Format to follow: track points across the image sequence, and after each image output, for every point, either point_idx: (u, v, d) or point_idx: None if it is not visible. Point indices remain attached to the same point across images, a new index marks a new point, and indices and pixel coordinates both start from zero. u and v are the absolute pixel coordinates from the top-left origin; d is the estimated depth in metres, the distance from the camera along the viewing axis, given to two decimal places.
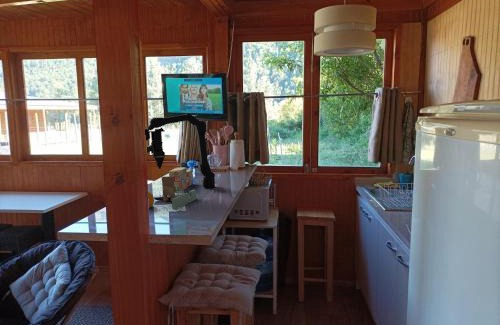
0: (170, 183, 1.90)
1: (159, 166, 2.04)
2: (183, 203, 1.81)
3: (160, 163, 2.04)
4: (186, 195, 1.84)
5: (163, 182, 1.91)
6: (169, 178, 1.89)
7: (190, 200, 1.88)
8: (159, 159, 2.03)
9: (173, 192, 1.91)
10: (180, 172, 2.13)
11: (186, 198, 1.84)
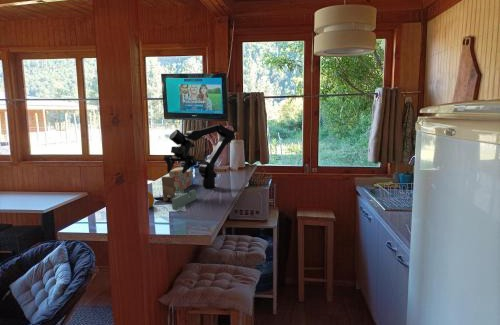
0: (170, 183, 1.90)
1: (184, 170, 1.97)
2: (183, 203, 1.81)
3: (186, 168, 1.98)
4: (186, 195, 1.84)
5: (163, 182, 1.91)
6: (169, 178, 1.89)
7: (190, 200, 1.88)
8: (187, 165, 1.99)
9: (173, 192, 1.91)
10: (180, 172, 2.13)
11: (186, 198, 1.84)
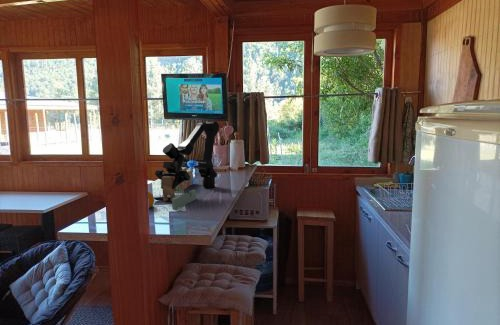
0: (170, 183, 1.90)
1: (173, 186, 1.90)
2: (183, 203, 1.81)
3: (176, 184, 1.91)
4: (186, 195, 1.84)
5: (163, 182, 1.91)
6: (169, 178, 1.89)
7: (190, 200, 1.88)
8: (177, 180, 1.92)
9: (173, 192, 1.91)
10: None
11: (186, 198, 1.84)
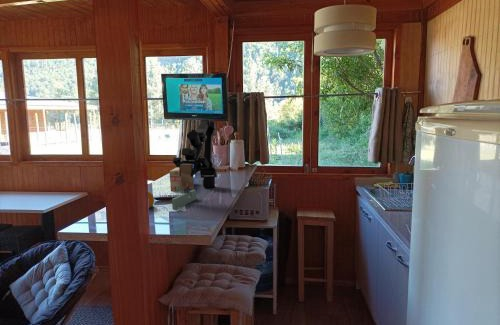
0: (189, 170, 1.84)
1: (192, 174, 1.84)
2: (183, 203, 1.81)
3: (195, 172, 1.85)
4: (186, 195, 1.84)
5: (181, 169, 1.85)
6: (188, 166, 1.84)
7: (190, 200, 1.88)
8: (196, 168, 1.86)
9: (192, 180, 1.85)
10: None
11: (186, 198, 1.84)
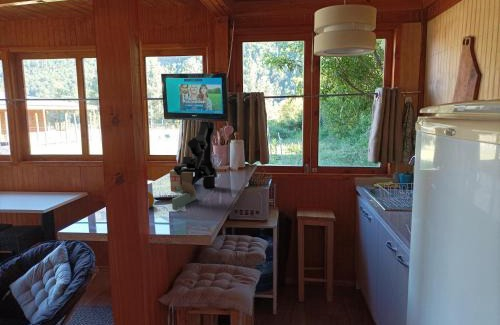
0: (190, 179, 1.84)
1: (193, 182, 1.85)
2: (183, 203, 1.81)
3: (196, 180, 1.86)
4: (186, 195, 1.84)
5: (182, 177, 1.86)
6: (189, 174, 1.84)
7: (190, 200, 1.88)
8: (197, 176, 1.87)
9: (193, 188, 1.86)
10: None
11: (186, 198, 1.84)
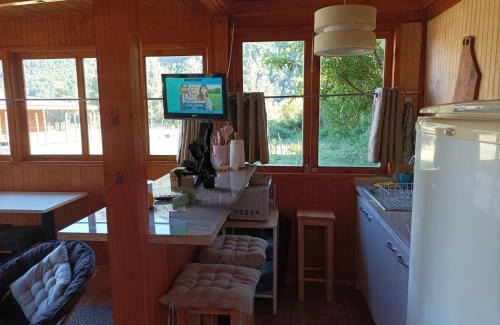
0: (190, 184, 1.85)
1: (196, 186, 1.84)
2: (183, 203, 1.81)
3: (198, 183, 1.86)
4: (186, 195, 1.84)
5: (183, 183, 1.86)
6: (189, 179, 1.85)
7: (190, 200, 1.88)
8: (200, 179, 1.86)
9: (193, 193, 1.86)
10: None
11: (186, 198, 1.84)
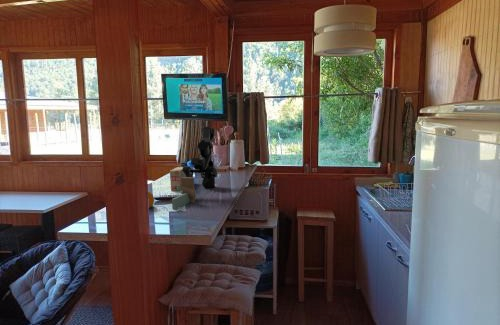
0: (190, 184, 1.85)
1: (204, 183, 1.92)
2: (183, 203, 1.81)
3: (206, 181, 1.93)
4: (186, 195, 1.84)
5: (183, 183, 1.86)
6: (189, 179, 1.85)
7: (190, 200, 1.88)
8: (207, 176, 1.94)
9: (193, 193, 1.86)
10: (181, 171, 2.15)
11: (186, 198, 1.84)
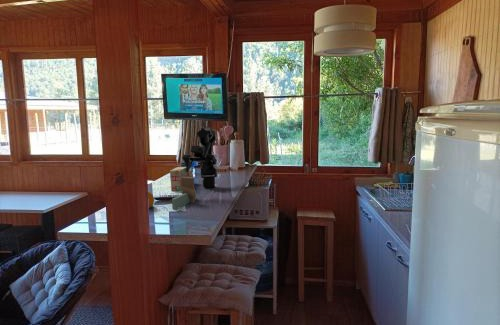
0: (190, 184, 1.85)
1: (203, 170, 1.94)
2: (183, 203, 1.81)
3: (206, 168, 1.95)
4: (186, 195, 1.84)
5: (183, 183, 1.86)
6: (189, 179, 1.85)
7: (190, 200, 1.88)
8: (207, 164, 1.96)
9: (193, 193, 1.86)
10: (181, 171, 2.15)
11: (186, 198, 1.84)
